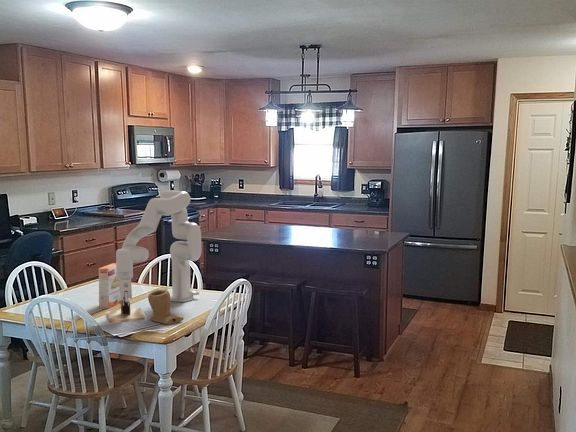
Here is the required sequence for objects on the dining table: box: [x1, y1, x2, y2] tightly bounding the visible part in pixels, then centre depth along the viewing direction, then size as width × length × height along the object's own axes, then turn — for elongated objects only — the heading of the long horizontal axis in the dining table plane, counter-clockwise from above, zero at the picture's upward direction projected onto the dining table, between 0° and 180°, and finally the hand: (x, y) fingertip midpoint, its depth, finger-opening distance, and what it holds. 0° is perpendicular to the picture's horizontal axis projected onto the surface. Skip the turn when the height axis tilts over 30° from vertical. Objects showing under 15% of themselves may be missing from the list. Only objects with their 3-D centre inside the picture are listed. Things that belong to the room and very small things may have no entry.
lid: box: [106, 300, 146, 324], centre depth 251 cm, size 16×16×7 cm
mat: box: [104, 308, 148, 325], centre depth 252 cm, size 18×18×1 cm
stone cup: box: [147, 289, 184, 325], centre depth 245 cm, size 15×12×15 cm
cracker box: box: [98, 262, 122, 309], centre depth 270 cm, size 14×6×21 cm, turn 168°
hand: (125, 311), depth 251 cm, fingers closed on lid, 4 cm apart
